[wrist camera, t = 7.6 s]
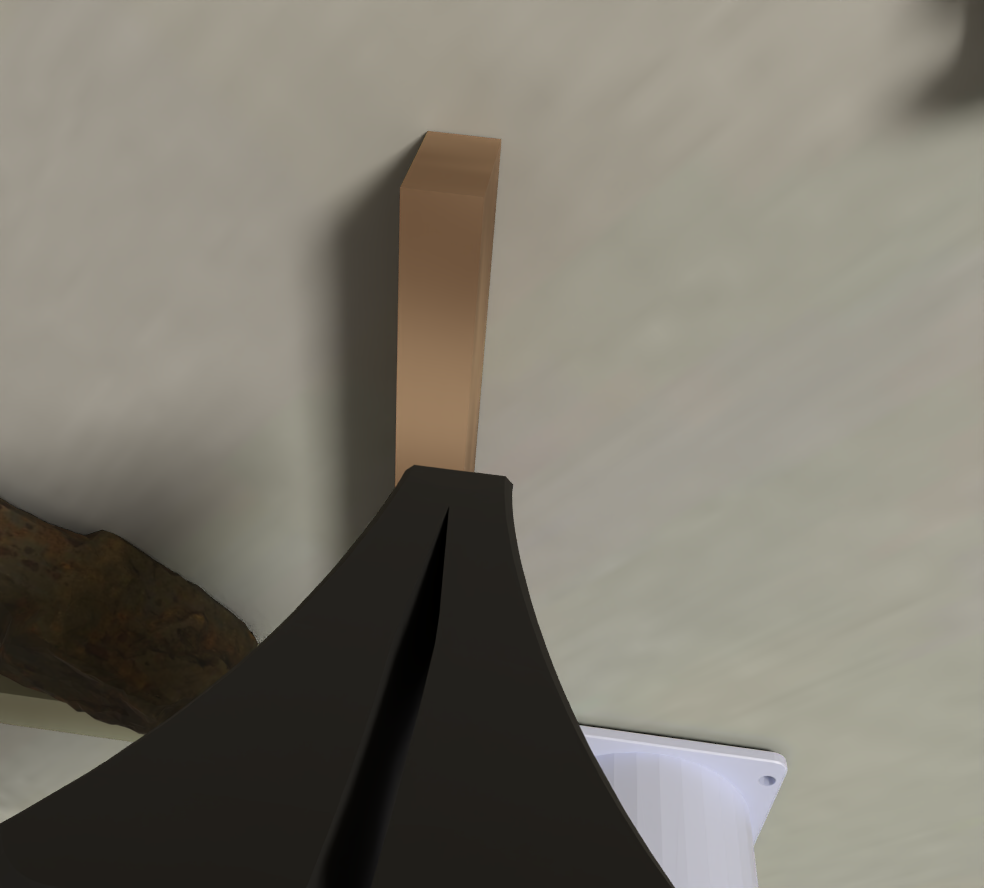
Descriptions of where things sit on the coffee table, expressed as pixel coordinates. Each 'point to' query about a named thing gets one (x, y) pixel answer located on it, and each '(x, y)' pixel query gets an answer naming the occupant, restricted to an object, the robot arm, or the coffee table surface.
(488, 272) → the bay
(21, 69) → the coffee table surface
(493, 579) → the robot arm
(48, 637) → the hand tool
